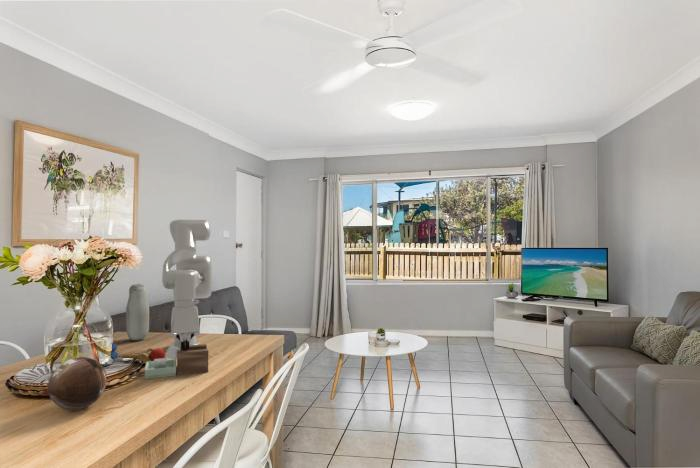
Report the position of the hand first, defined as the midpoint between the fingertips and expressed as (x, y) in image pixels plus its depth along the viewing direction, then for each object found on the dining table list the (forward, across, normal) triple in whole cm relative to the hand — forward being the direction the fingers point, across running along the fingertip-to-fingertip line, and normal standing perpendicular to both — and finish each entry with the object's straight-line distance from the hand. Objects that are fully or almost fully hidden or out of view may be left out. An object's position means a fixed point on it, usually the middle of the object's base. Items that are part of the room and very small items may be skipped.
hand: (185, 351), depth 172 cm
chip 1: (+4, +7, 0) cm, 8 cm away
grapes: (+8, +31, -19) cm, 37 cm away
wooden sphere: (+8, +31, +29) cm, 43 cm away
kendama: (+8, +16, -18) cm, 25 cm away
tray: (+7, +9, 0) cm, 11 cm away
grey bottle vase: (+7, +20, -63) cm, 67 cm away
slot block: (+7, -3, 0) cm, 8 cm away
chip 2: (+1, +3, 0) cm, 3 cm away
